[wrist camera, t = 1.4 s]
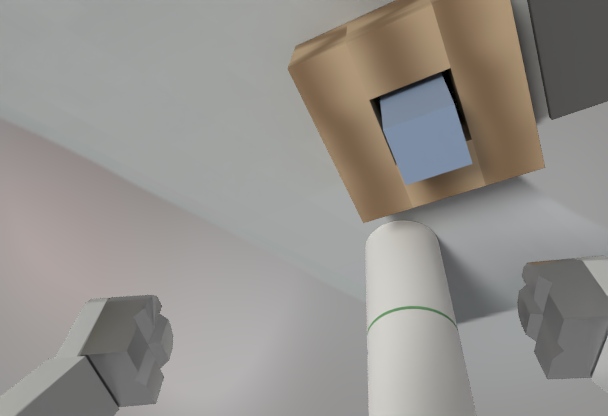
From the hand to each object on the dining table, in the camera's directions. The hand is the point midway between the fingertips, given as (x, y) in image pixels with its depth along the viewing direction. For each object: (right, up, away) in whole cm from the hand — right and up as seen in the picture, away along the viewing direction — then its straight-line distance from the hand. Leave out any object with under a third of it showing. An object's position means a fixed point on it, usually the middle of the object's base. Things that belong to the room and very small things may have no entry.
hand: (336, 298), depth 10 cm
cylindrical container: (+9, -2, +35) cm, 37 cm away
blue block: (+8, +11, +26) cm, 29 cm away
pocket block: (+8, +11, +26) cm, 29 cm away
